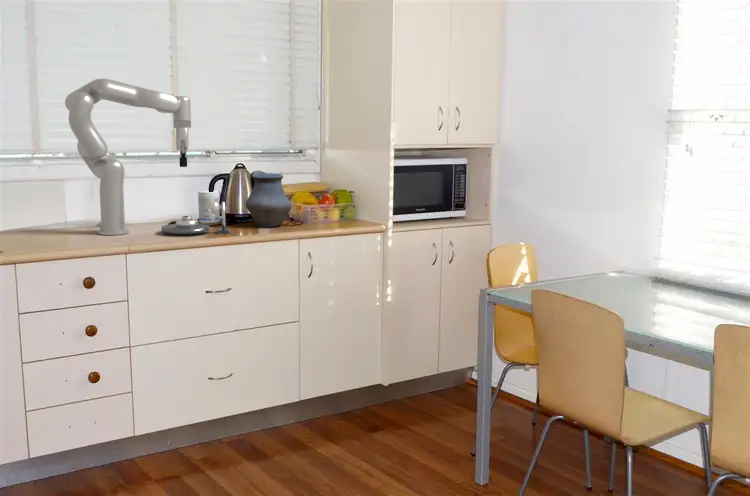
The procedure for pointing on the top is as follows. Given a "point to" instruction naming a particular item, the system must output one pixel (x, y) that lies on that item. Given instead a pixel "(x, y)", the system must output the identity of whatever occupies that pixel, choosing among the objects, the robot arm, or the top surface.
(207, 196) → the supplement tub
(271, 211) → the pitcher
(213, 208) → the dial indicator
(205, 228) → the turntable
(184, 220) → the cast cover
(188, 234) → the turntable base
